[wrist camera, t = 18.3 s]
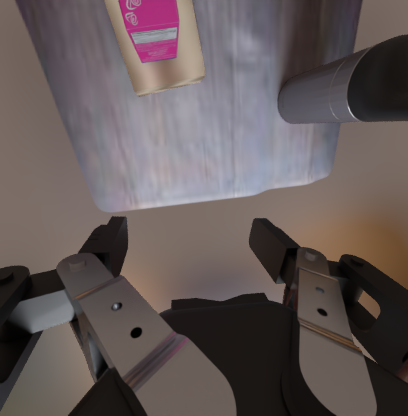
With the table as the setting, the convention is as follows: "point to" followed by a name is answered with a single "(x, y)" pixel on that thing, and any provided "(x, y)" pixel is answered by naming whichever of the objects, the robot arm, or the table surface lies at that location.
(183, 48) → the birch block
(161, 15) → the supplement box
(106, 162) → the table surface
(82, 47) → the table surface
